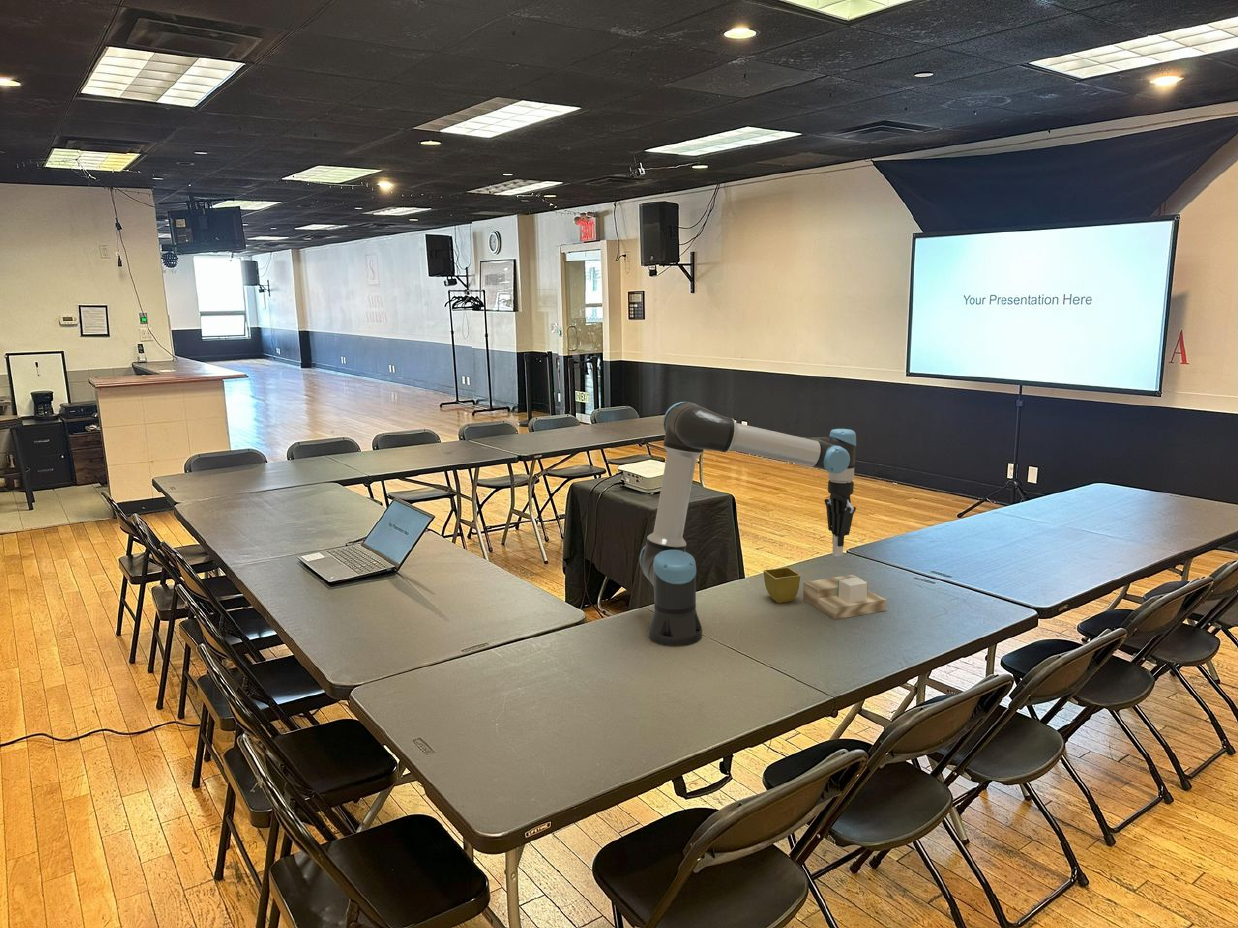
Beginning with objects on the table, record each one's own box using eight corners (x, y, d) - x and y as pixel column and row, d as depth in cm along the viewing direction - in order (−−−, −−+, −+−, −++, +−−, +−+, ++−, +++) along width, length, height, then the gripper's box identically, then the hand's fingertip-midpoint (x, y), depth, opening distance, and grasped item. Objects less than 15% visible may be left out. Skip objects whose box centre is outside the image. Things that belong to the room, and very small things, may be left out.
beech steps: (834, 619, 234) (835, 599, 233) (803, 600, 250) (803, 581, 249) (885, 610, 240) (886, 591, 239) (851, 592, 256) (852, 574, 255)
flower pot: (774, 606, 245) (775, 578, 244) (762, 596, 254) (762, 569, 252) (800, 603, 248) (801, 575, 246) (787, 593, 256) (788, 566, 254)
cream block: (837, 596, 243) (849, 603, 237) (838, 579, 242) (850, 585, 236) (854, 594, 245) (866, 600, 239) (854, 576, 244) (867, 582, 238)
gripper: (864, 483, 236) (860, 560, 241) (838, 475, 248) (835, 548, 253) (843, 485, 234) (839, 562, 238) (818, 477, 246) (815, 550, 250)
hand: (837, 555), depth 245 cm, fingers closed
